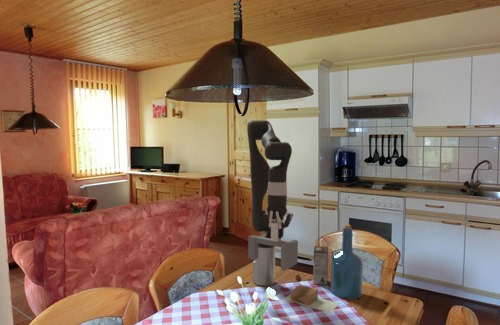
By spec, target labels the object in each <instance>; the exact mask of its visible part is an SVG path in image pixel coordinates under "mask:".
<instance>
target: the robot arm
mask: <svg viewBox="0 0 500 325" xmlns="http://www.w3.org/2000/svg"><path fill="white" fill-rule="evenodd" d="M246 125H247V128H246V129H247V130H246V132H247V141H248V150H249V166H250V167H249V168H250V170H249V171H250V184H251V225H252V228H253V230H254V231H255V232H256V233H257V232H258V233H259V232H263V233H262V234H261V235H260V236H259V237H264V238H270V239H271V223H273V222H277V223H278V226H279V229H278V238H281V239H282V238H283V237H284V233H285V232H284V229H286V228H288V227H289V225H290V224H291V222H292V219H293V217H294V214H293V213H291V212H289V211H288V209H287V205H288V204H287V203H288V202H287V200H288V199H287V198H288V184H287V176H288V175H287V174H288V173H287V172H288V168H289V163H290V161H291V157H292V154H293V149H292V146H291V143H289V142H286V141H285V142H283V141H282V142H281V140H280V138H279V137H278V136H277V135H276V134H275V131H274V128H273V125H272V124H271V122H270V121H268V120H264V119H263V120H259V119H256V120H249V121H248V122H247V124H246ZM257 141H261V144H262V147H263V148H264V156H265V158H266V159H267V160H269V161H280V163H279V164H278V165H274V166H270V165H269V163H268V162H267V160H266V159H265V158H264V156H263V154H262V153H261V151H260V149H259V147H258V144H257ZM266 194H267V197H266V199H267V204H266V205H267V208H265V209H263V203H264V199H265V196H266ZM275 271H276V246H271V245H266V244H260V243H258V258H257V259H255V260H253V261H252V282H253V283H254V284H256V286H257V285H258V286H262V287H269V286H273V285H274V284H275V282H276V281H275V280H276V279H275V273H276V272H275Z"/></svg>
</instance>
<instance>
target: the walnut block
mask: <svg viewBox="0 0 500 325" xmlns="http://www.w3.org/2000/svg"><path fill="white" fill-rule="evenodd" d="M290 294H291V301H295V302H298V303H302V304H305V305H309V306H310V305H311V304H312V303H313V302H315V301H316V300H317V299H318V298H319V288H315V287H312V286H307V285H303V284H299V285H298V286H296V287H295V288H293V289H292V290H291V291H290ZM291 301H290V302H291ZM298 303H297V304H298ZM305 305H304V306H305Z"/></svg>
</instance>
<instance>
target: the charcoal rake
mask: <svg viewBox="0 0 500 325" xmlns="http://www.w3.org/2000/svg"><path fill="white" fill-rule="evenodd" d="M278 229H279V226H278V223H277V222H273V223H271V239H270V238H264V237H260V236H259V235H255V234H252V235H249V236H248V239H247V241H248V243H247V244H248V245H247V248H248V250H247V259H248V260H249V259H250V260H253V261H255V259H257V258H258V243H260V244H266V245H271V246H275V248H277V247H278V248H280V270H281V271H287V270H288V269H290V268H292V267H294V266H296V265H297V264H298V254H299V252H298V251H299V248H298V247H299V241H298V240H295V239H292V240H290V241H286V240H282V238H278Z"/></svg>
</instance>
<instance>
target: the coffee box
mask: <svg viewBox="0 0 500 325" xmlns="http://www.w3.org/2000/svg"><path fill="white" fill-rule="evenodd" d="M328 266H329V247H328V246H318V245H315V246H314V247H313V268H312V269H313V274H312V275H313V276H312V277H313V278H312V279H313V280H312V284H313V285H321V286H328V275H329V274H328V271H329V268H328Z"/></svg>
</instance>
